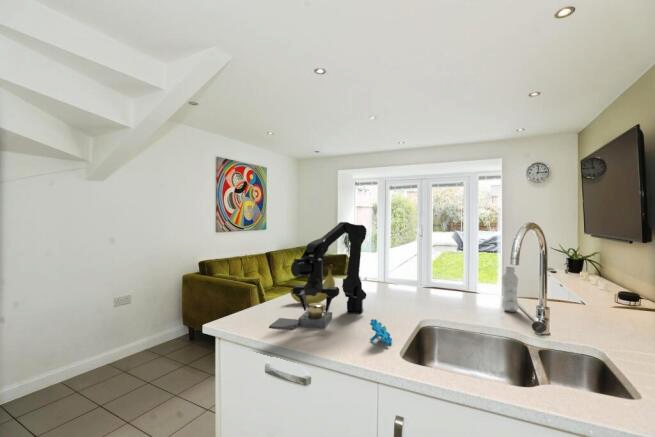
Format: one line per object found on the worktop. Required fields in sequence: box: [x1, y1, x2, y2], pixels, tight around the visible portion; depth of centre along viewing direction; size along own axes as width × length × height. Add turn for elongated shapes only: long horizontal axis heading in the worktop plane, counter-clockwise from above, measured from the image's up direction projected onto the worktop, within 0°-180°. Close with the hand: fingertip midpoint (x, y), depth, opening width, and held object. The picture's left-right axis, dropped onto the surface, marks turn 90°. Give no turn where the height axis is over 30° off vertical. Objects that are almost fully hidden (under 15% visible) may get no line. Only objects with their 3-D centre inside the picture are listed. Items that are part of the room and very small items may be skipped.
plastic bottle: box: [501, 266, 519, 313], centre depth 142 cm, size 6×7×20 cm
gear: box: [369, 318, 393, 346], centre depth 108 cm, size 11×6×10 cm
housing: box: [297, 309, 333, 329], centre depth 127 cm, size 11×11×3 cm
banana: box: [290, 263, 336, 305], centre depth 155 cm, size 23×6×20 cm, turn 81°
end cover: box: [307, 302, 325, 318], centre depth 127 cm, size 6×6×7 cm
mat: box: [268, 317, 299, 331], centre depth 125 cm, size 10×10×1 cm
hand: (315, 311), depth 127 cm, fingers open, 9 cm apart
